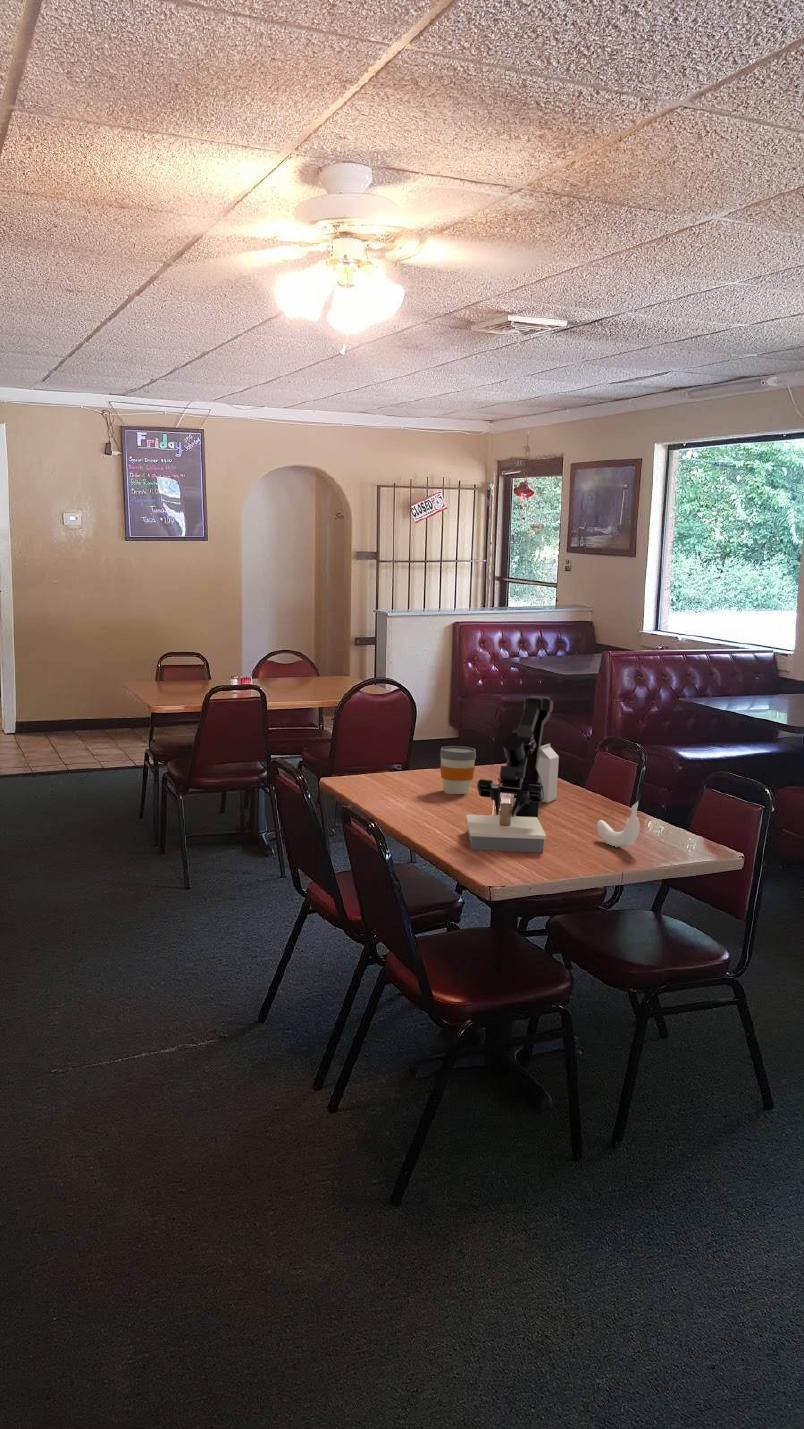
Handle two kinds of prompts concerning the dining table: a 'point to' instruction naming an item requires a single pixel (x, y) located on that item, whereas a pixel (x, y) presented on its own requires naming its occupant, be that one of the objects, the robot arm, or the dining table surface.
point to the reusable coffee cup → (457, 768)
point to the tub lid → (505, 825)
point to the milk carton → (548, 772)
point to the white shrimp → (624, 836)
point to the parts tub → (506, 844)
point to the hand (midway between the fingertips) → (504, 815)
